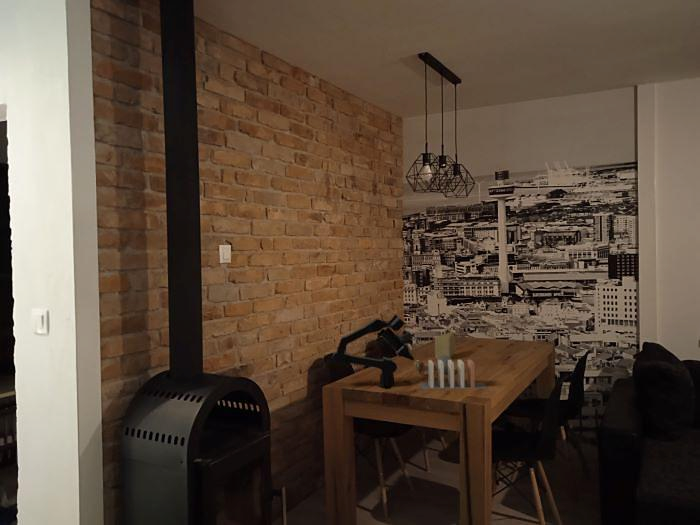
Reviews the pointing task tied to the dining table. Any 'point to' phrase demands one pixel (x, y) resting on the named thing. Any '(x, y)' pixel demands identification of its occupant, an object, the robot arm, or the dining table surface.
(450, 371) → the tile
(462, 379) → the tile
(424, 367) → the lion figurine
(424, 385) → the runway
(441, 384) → the tile
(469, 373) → the tile
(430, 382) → the tile
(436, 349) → the cheese
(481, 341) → the dining table surface
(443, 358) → the decorative ball
